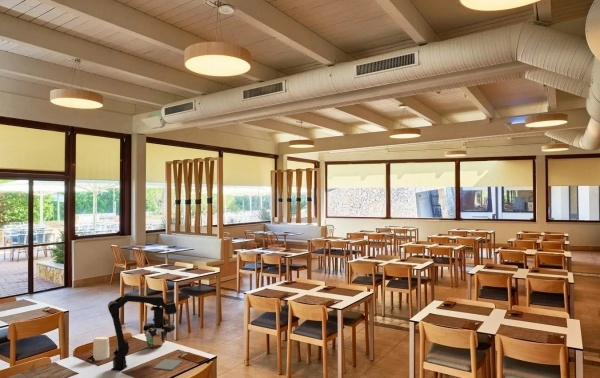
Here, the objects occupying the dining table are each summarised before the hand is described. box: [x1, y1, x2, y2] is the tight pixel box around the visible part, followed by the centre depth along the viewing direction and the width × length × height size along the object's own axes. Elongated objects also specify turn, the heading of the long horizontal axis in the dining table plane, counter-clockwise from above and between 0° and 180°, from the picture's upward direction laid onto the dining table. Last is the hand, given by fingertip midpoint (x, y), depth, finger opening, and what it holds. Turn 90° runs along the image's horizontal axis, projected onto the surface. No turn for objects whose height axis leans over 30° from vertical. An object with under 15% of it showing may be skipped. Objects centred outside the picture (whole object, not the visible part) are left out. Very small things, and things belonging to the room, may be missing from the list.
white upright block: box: [92, 336, 110, 361], centre depth 254 cm, size 9×9×12 cm
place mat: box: [153, 358, 184, 371], centre depth 241 cm, size 12×12×1 cm
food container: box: [144, 330, 163, 350], centre depth 268 cm, size 12×6×10 cm, turn 112°
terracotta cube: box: [153, 334, 166, 346], centre depth 249 cm, size 5×5×5 cm
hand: (159, 341), depth 249 cm, fingers closed on terracotta cube, 5 cm apart
